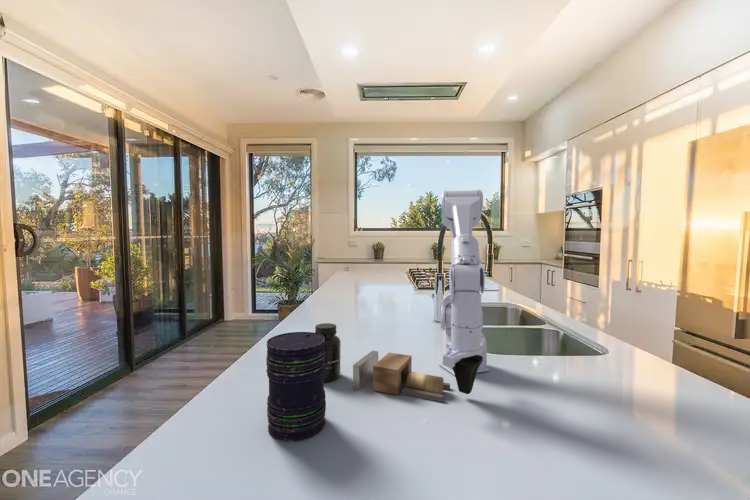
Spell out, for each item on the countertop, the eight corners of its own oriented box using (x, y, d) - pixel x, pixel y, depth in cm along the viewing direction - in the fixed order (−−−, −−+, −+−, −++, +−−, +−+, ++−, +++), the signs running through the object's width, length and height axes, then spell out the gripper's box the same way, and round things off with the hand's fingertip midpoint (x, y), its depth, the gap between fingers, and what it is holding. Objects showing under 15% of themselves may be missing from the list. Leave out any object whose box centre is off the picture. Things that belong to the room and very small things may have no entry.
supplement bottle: (335, 384, 75) (334, 330, 74) (306, 381, 76) (305, 328, 75) (344, 372, 81) (344, 322, 81) (317, 369, 83) (316, 321, 82)
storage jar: (297, 450, 52) (295, 353, 51) (254, 430, 57) (253, 342, 56) (337, 420, 60) (337, 336, 60) (297, 405, 65) (296, 328, 65)
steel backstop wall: (378, 371, 81) (378, 351, 81) (359, 389, 72) (359, 366, 72) (372, 370, 82) (372, 350, 82) (353, 387, 73) (352, 365, 73)
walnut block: (411, 378, 77) (411, 355, 77) (397, 395, 69) (397, 370, 69) (389, 374, 80) (389, 352, 79) (373, 390, 71) (373, 365, 71)
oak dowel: (443, 390, 72) (443, 374, 71) (439, 399, 68) (439, 381, 68) (411, 384, 75) (411, 368, 74) (406, 392, 71) (406, 375, 71)
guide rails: (449, 388, 73) (449, 383, 73) (442, 402, 66) (442, 397, 66) (412, 381, 76) (412, 376, 76) (402, 394, 70) (402, 389, 70)
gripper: (463, 315, 76) (463, 375, 76) (429, 328, 65) (428, 398, 65) (495, 320, 71) (494, 384, 71) (463, 335, 60) (462, 411, 61)
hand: (465, 391), depth 68 cm, fingers closed
